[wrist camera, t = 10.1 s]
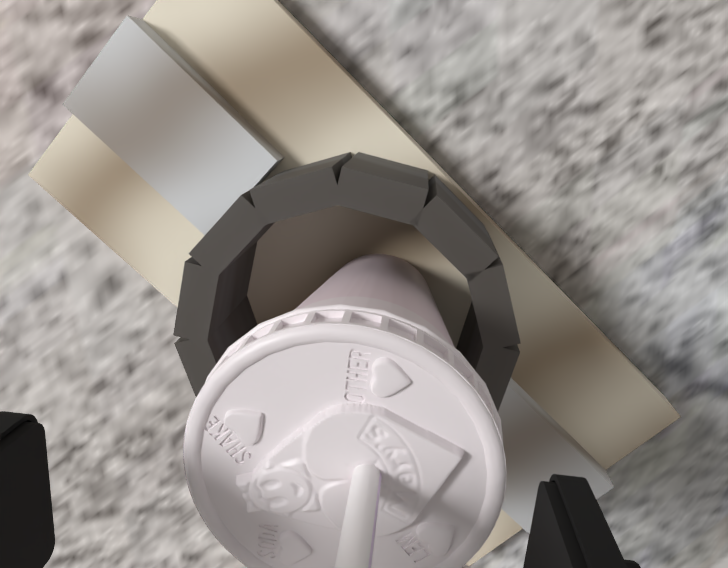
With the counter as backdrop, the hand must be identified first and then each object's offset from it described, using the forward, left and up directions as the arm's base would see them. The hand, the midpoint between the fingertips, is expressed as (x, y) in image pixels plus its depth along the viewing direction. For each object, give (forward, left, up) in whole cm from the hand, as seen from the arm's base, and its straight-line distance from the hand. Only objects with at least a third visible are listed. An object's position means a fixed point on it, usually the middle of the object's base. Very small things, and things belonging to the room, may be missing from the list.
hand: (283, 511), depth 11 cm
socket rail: (+1, 0, -12) cm, 12 cm away
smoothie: (+1, -1, -11) cm, 10 cm away
